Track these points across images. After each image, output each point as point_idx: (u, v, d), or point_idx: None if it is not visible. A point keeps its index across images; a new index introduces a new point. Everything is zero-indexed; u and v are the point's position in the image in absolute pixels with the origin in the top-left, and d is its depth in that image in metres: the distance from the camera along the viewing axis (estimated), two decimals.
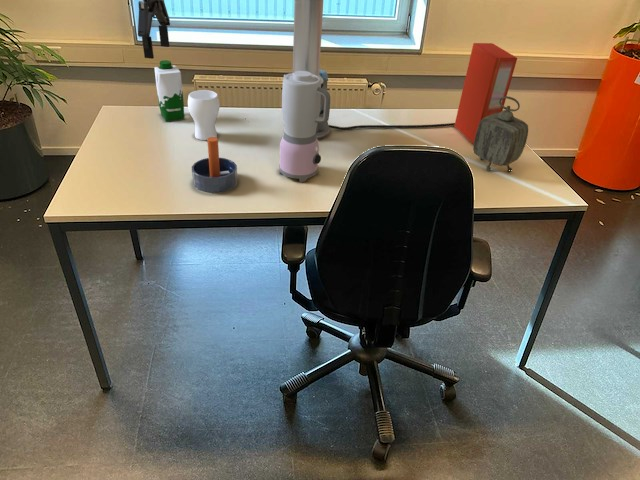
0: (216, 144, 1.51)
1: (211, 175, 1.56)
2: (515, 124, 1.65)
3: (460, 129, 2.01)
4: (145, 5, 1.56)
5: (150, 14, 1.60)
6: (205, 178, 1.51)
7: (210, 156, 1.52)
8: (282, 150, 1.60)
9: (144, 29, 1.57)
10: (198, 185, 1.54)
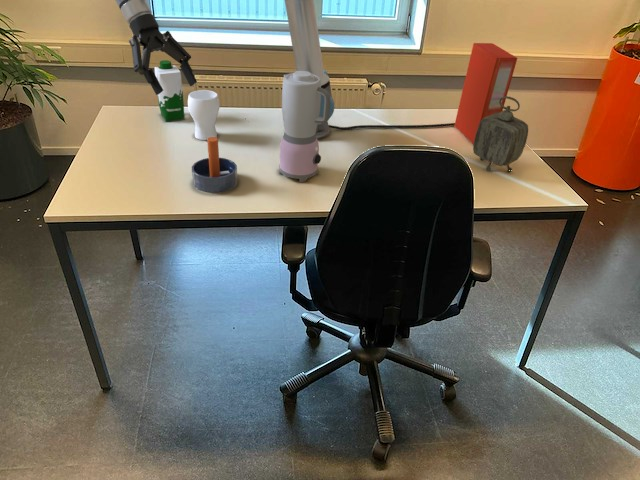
0: (216, 144, 1.51)
1: (211, 175, 1.56)
2: (515, 124, 1.65)
3: (460, 129, 2.01)
4: (133, 39, 1.44)
5: (146, 48, 1.47)
6: (205, 178, 1.51)
7: (210, 156, 1.52)
8: (282, 150, 1.60)
9: (137, 62, 1.43)
10: (198, 185, 1.54)
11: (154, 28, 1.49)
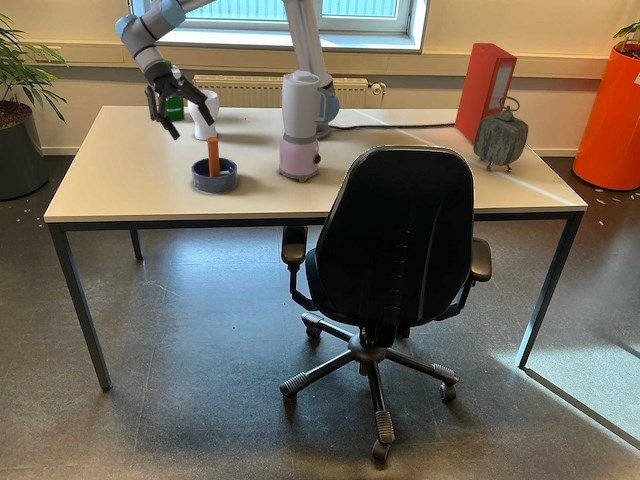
0: (216, 144, 1.51)
1: (211, 175, 1.56)
2: (515, 124, 1.65)
3: (460, 129, 2.01)
4: (148, 89, 1.47)
5: (162, 96, 1.49)
6: (205, 178, 1.51)
7: (210, 156, 1.52)
8: (282, 150, 1.60)
9: (152, 111, 1.45)
10: (198, 185, 1.54)
11: (168, 75, 1.51)
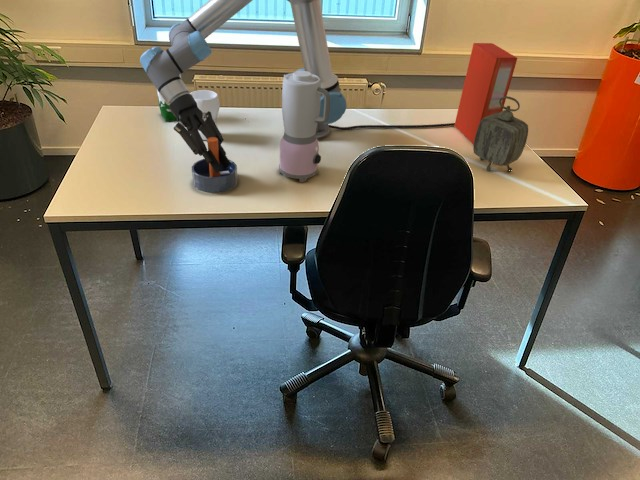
0: (216, 144, 1.51)
1: (211, 175, 1.56)
2: (515, 124, 1.65)
3: (460, 129, 2.01)
4: (178, 127, 1.47)
5: (193, 130, 1.50)
6: (205, 178, 1.51)
7: None
8: (282, 150, 1.60)
9: (194, 146, 1.49)
10: (198, 185, 1.54)
11: (193, 106, 1.51)
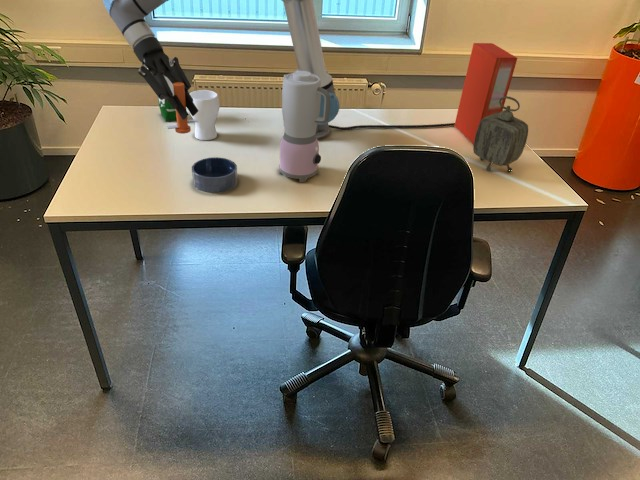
0: (182, 89, 1.47)
1: (178, 123, 1.52)
2: (515, 124, 1.65)
3: (460, 129, 2.01)
4: (142, 70, 1.43)
5: (158, 74, 1.46)
6: (205, 178, 1.51)
7: None
8: (282, 150, 1.60)
9: (159, 90, 1.44)
10: (198, 185, 1.54)
11: (158, 50, 1.47)
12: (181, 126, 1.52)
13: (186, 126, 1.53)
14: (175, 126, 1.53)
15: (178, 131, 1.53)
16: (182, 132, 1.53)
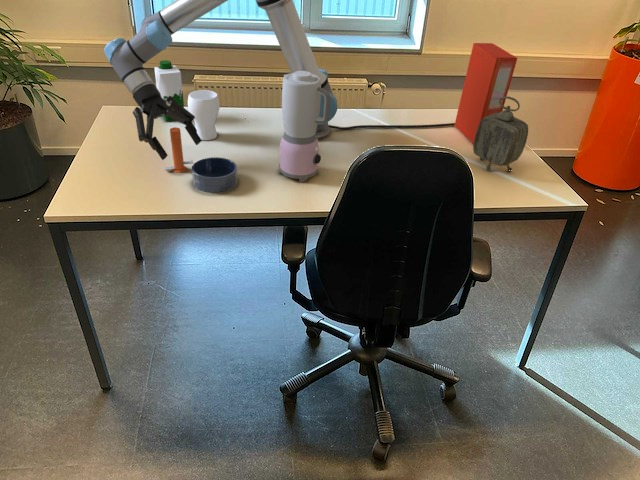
0: (178, 134, 1.56)
1: (175, 164, 1.61)
2: (515, 124, 1.65)
3: (460, 129, 2.01)
4: (136, 110, 1.52)
5: (149, 117, 1.54)
6: (205, 178, 1.51)
7: (173, 146, 1.58)
8: (282, 150, 1.60)
9: (140, 132, 1.50)
10: (198, 185, 1.54)
11: (156, 96, 1.56)
12: (177, 167, 1.62)
13: (182, 167, 1.63)
14: (172, 167, 1.62)
15: (175, 172, 1.62)
16: None
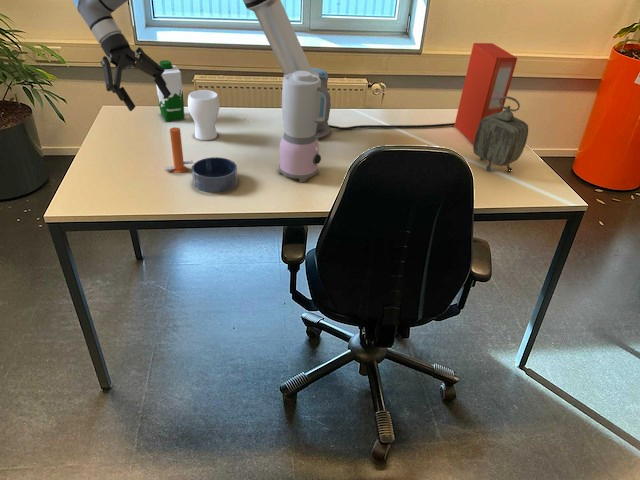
0: (178, 134, 1.56)
1: (175, 164, 1.61)
2: (515, 124, 1.65)
3: (460, 129, 2.01)
4: (103, 59, 1.51)
5: (117, 67, 1.53)
6: (205, 178, 1.51)
7: (173, 146, 1.58)
8: (282, 150, 1.60)
9: (108, 81, 1.50)
10: (198, 185, 1.54)
11: (124, 46, 1.55)
12: (177, 167, 1.62)
13: (182, 167, 1.63)
14: (172, 167, 1.62)
15: (175, 172, 1.62)
16: None
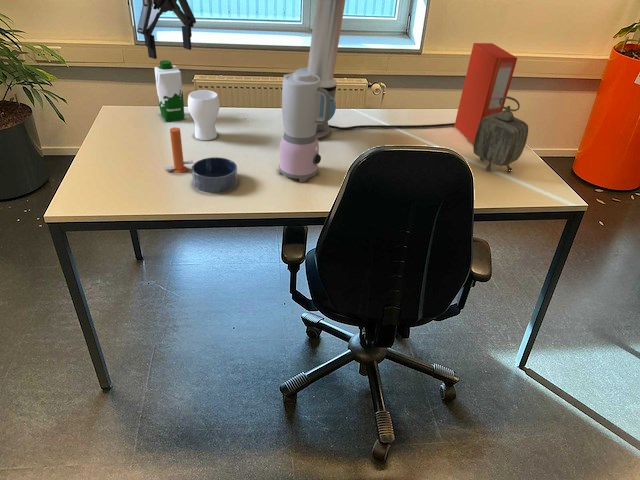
0: (178, 134, 1.56)
1: (175, 164, 1.61)
2: (515, 124, 1.65)
3: (460, 129, 2.01)
4: (147, 1, 1.44)
5: (157, 11, 1.48)
6: (205, 178, 1.51)
7: (173, 146, 1.58)
8: (282, 150, 1.60)
9: (143, 26, 1.46)
10: (198, 185, 1.54)
11: None
12: (177, 167, 1.62)
13: (182, 167, 1.63)
14: (172, 167, 1.62)
15: (175, 172, 1.62)
16: None
